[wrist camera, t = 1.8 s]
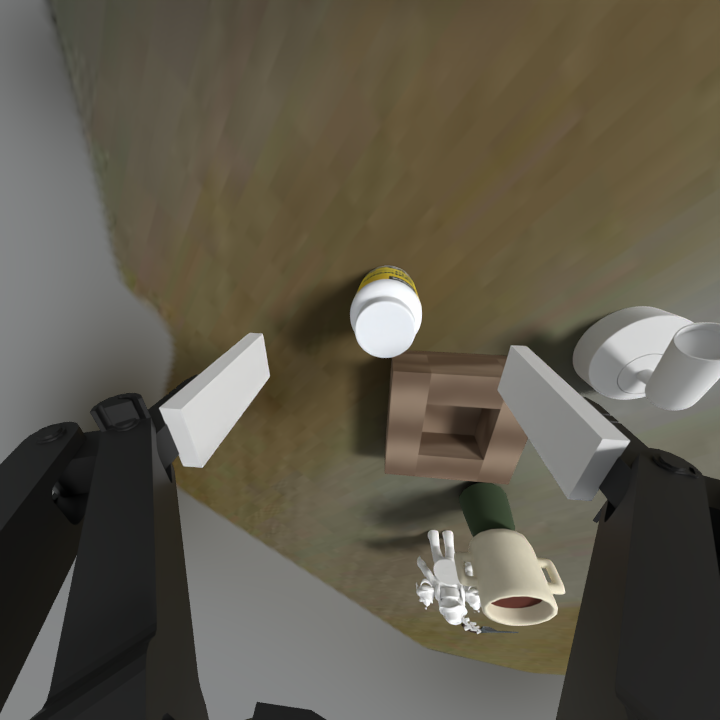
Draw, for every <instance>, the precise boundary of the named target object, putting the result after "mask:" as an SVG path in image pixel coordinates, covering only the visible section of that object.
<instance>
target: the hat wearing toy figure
mask: <svg viewBox="0 0 720 720" xmlns="http://www.w3.org/2000/svg"><path fill="white" fill-rule="evenodd" d="M442 535H443V539H444V545H445V557H443V556H442V553H441V550H440V547H439V533H438V531H436V530H430V531H429V532H428V538H429V540H430V545H431V550H432V555H433V560H434V563H435V565H434V574H435V576H433V574H432V572H431V570H430V569H429V568H428V567H427V566H426V562H425V561H423V560H422V559H421V556H419V557H418V559H417V564H418V567H419V568H420V569H421V570H422V572H423V574H424V575H425V576H426V577H427V579H423V580H422V582H421V585H422V584H423V583H424V582H426V583H428V584H429V585H430V586H428V585H423V586H421V585H420V587H419V586H418V584H417V582H416V589H417V586H418V587H419V589H417V591H416V592H417V594H418V596H420V599H419V601H420V602H424V604H425V605H426V606H428V605H430V602H431V603H433V602H432V601H433V598H434V595H435V598H436V600H438V602H439V606H440V607H439V611H440V613H441V614H443V616H444V615H445V616H446V618H445V619H446V620H447V621H448V622H449V623H451V624H453V625H458V624H461V622H463V623H464V624H465V625H466V626H465V627H464V629H465V630H469V629H471V631H477V630H478V632H477V634H478V633H481V630H479V629H478V628H479V626H477V627H475V626H474V625H476V622H470V624H469V623H467V622H468V621H470V620H469V618H465V619H464V617H463V616H464V615H466V614H467V610H466V608H465V603H464V602H465V598H466V602H468V603H469V604H470V605H471V606H470V607H473V609H475V610H478V609H479V607H481V603H480V599H479V594H478V590H476V589H470V587H471V586H464V585H462V584H460V582H459V580H458V577H457V572H456V566H455V561H454V553H455V552H454V542H453V532H452V531H449V530H446V531H443V532H442ZM465 565H466V567H465V573H466V575H467V576H473V575H472V566H471V562H467V563H465ZM433 588H434V589H433ZM466 590H467V591H466ZM465 591H466V592H465ZM425 609H427V608H425ZM478 612H479V611H478ZM462 617H463V619H462ZM472 627H473V628H472Z"/></svg>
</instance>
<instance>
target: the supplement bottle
mask: <svg viewBox="0 0 720 720" xmlns="http://www.w3.org/2000/svg"><path fill="white" fill-rule="evenodd" d="M350 320H351V325H352V328H353V330H354V332H355V336H356V339H357V341H358V343H359V345H360V346H361V347H362V348H363V349H364V350H365V351H366V352H367V353H369V354H371V355H373V356H376V357H380V358H391V357H395V356H397V355H400V354H401V353H403V352H404V351H406V350H407V349H408V348H409V347H410V345H411V344H412V342H413V340H414V337H415V335H416V333H417V332H418V330H419V327H420V325H421V320H422V308H421V303H420V300H419V297H418V294H417V291H416V288H415V285H414V283H413V281H412V279H411V278H410V276H409V275H408V274H407V273H406V272H405V271H403V270H402V269H400V268H397V267H394V266H381V267H378V268H375V269H374V270H372V271H370V272H369V273H368V274H367V275H366V276H365V277H364V279H363V280H362V282H361V284H360V286H359V288H358V291H357V293H356V295H355V297H354V299H353V302H352V305H351V309H350Z"/></svg>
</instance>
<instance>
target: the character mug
mask: <svg viewBox="0 0 720 720" xmlns="http://www.w3.org/2000/svg"><path fill="white" fill-rule="evenodd" d="M459 501H460V505H461V508H462V511H463V514H464V516H465V519H466V521H467V524H468V526H469V529H470V531H471V534H472V536H473V538H472V540H471V542H470V544H469V552H456V553H454V561H455V566H456V572H457V577H458V580H459V582H460V584H462V585H464V586H471V587H477V590H478V594H479V599H480V603H481V608H482V610H483V613H484V614H485V615H486V616H487V617H488V618H489V619H491V620H493V621H495V622H497V623H501V624H506V625H514V626H526V625H533V624H539V623H542V622H545V621H548V620H550V619H551V618H553V617H554V616H555V615H557V610H558V607H557V604H556V601H555V599H554V597H553V594H561V595H562V594H564V593H565V589H564V585H563V583H562V581H561V579H560V577H559V575H558V572H557V570H556V568H555V566H554V564H553V563H552V561H551V560H549V559H546V558H537V557H536V555H535V553H534V550H533V548H532V546H531V545H530V544H529V542H528V541H527V539H526V538H525V536H524V535H522V534H520V533H518V532H516V531H515V525H514V522H513V518H512V514H511V510H510V506H509V502H508V499H507V496H506V493H505V492H504V491H503V490H502V489H501V487H499V486H496V485H494V484H492V483H477V484H474V485H471V486H469V487H468V488H467V489H465V490H464V491H463V492H462V493H461V495H460V497H459ZM463 562H471V566H472V570H473V574H474V576H467V575H466V573H465V568H464V563H463ZM541 568H545V569H546V570H547V572H548V574H549V576H550V579H551V581H552V583H548V582H547V581H546V578H545V576H544V574H543V571H542V569H541Z"/></svg>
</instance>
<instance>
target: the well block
mask: <svg viewBox="0 0 720 720" xmlns="http://www.w3.org/2000/svg"><path fill="white" fill-rule="evenodd" d="M507 357H508V356H502V355H483V354H464V353H445V352H426V351H407V350H406V351H404V352H403V353H401V354H400V355H397V356H395V357H392V363H391V376H390V389H389V401H388V414H387V427H386V440H385V474H396V475H407V476H419V477H430V478H441V479H452V480H464V481H475V482H486V483H497V484H509V482H510V479H511V477H512V475H513V472H514V470H515V468H516V465H517V463H518V461H519V458H520V456H521V453H522V451H523V449H524V446H525V444H526V442H527V439H528V437H527V435H526V434H525V432H524V431H523V429H522V427H521V426H520V424H519V423H518V421H517V420H516V418H515V417H514V415H513V413H512V412H511V410H510V409H509V407H508V406H507V404H506V403H505V401H504V400H503V398H502V396H501V395H500V393H499V392H498V386H499V383H500V380H501V376H502V373H503V370H504V367H505V363H506V360H507Z"/></svg>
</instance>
